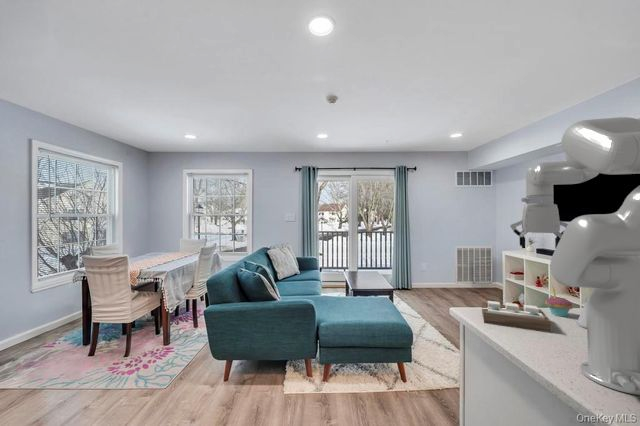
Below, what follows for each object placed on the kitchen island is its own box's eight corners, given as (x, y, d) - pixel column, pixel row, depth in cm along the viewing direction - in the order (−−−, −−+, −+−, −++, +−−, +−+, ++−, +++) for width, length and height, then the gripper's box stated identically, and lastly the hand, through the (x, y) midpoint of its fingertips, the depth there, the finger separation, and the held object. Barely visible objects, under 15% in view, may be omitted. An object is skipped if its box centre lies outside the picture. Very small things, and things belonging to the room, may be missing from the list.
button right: (539, 316, 101) (538, 309, 101) (525, 314, 102) (525, 307, 103) (536, 312, 104) (536, 306, 104) (523, 311, 106) (523, 304, 106)
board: (551, 332, 94) (550, 317, 94) (484, 322, 103) (483, 309, 103) (541, 319, 106) (540, 306, 106) (482, 312, 116) (481, 300, 116)
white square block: (500, 311, 106) (500, 304, 106) (488, 309, 108) (488, 303, 108) (499, 308, 110) (499, 301, 110) (487, 307, 112) (487, 300, 112)
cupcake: (554, 317, 109) (553, 287, 109) (540, 310, 117) (539, 282, 117) (578, 318, 107) (577, 288, 108) (563, 311, 115) (562, 283, 116)
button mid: (519, 313, 103) (519, 306, 104) (506, 312, 105) (506, 305, 105) (517, 310, 107) (517, 304, 107) (505, 309, 109) (505, 302, 109)
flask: (610, 331, 94) (609, 302, 95) (586, 330, 96) (585, 301, 96) (594, 324, 101) (592, 297, 102) (571, 322, 103) (570, 296, 103)
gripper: (511, 201, 97) (511, 248, 97) (575, 199, 89) (576, 251, 89) (509, 201, 104) (509, 246, 104) (568, 200, 95) (569, 248, 95)
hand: (540, 248), depth 96 cm, fingers open, 9 cm apart
